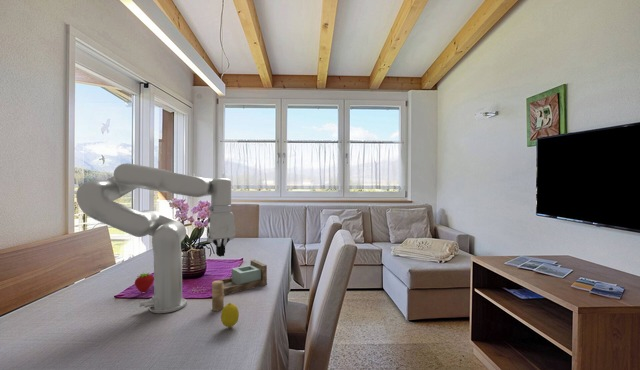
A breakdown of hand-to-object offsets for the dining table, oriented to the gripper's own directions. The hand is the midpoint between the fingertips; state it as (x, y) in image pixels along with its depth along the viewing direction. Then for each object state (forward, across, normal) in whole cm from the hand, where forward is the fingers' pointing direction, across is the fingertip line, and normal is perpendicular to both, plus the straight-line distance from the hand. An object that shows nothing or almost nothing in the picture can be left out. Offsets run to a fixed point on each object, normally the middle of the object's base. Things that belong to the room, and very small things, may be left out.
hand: (220, 255), depth 116 cm
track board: (+18, +15, +12) cm, 26 cm away
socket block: (+17, +18, +12) cm, 27 cm away
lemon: (+18, -7, -23) cm, 30 cm away
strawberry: (+19, -19, +32) cm, 42 cm away
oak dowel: (+18, -4, -6) cm, 20 cm away
